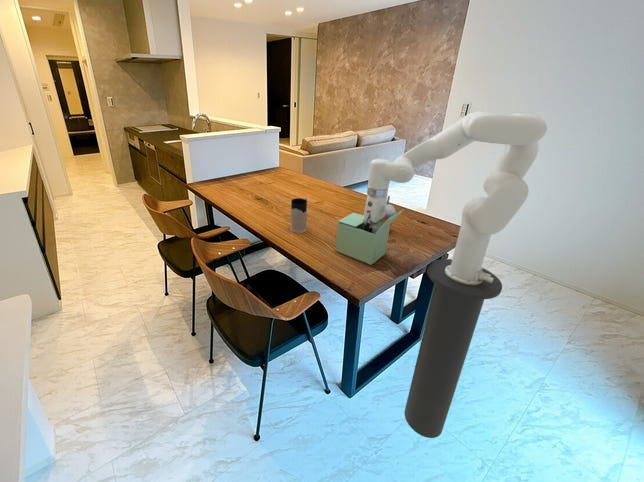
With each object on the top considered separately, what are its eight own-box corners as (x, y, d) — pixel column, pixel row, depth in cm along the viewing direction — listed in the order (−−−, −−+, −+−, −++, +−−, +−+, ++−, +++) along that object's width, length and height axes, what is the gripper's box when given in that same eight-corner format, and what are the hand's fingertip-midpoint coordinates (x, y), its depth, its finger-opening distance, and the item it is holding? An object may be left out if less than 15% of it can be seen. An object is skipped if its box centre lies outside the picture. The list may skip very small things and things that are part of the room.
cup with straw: (371, 230, 147) (376, 197, 139) (377, 223, 154) (382, 191, 146) (390, 235, 142) (396, 201, 134) (395, 228, 149) (401, 195, 141)
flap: (390, 223, 121) (390, 223, 121) (375, 232, 113) (376, 233, 112) (402, 209, 116) (403, 209, 115) (388, 218, 107) (389, 219, 107)
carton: (385, 253, 126) (390, 223, 121) (371, 265, 118) (375, 232, 112) (350, 240, 137) (353, 212, 132) (335, 250, 129) (337, 220, 123)
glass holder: (286, 230, 148) (287, 202, 141) (298, 219, 159) (298, 193, 152) (303, 234, 144) (304, 206, 137) (313, 222, 155) (314, 195, 149)
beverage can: (360, 249, 122) (364, 223, 117) (363, 242, 127) (367, 217, 123) (376, 253, 120) (381, 226, 115) (378, 246, 125) (383, 220, 120)
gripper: (375, 199, 106) (369, 243, 113) (396, 188, 118) (389, 229, 124) (357, 194, 111) (352, 237, 118) (378, 185, 122) (373, 224, 129)
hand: (371, 233), depth 121 cm, fingers closed on beverage can, 6 cm apart
